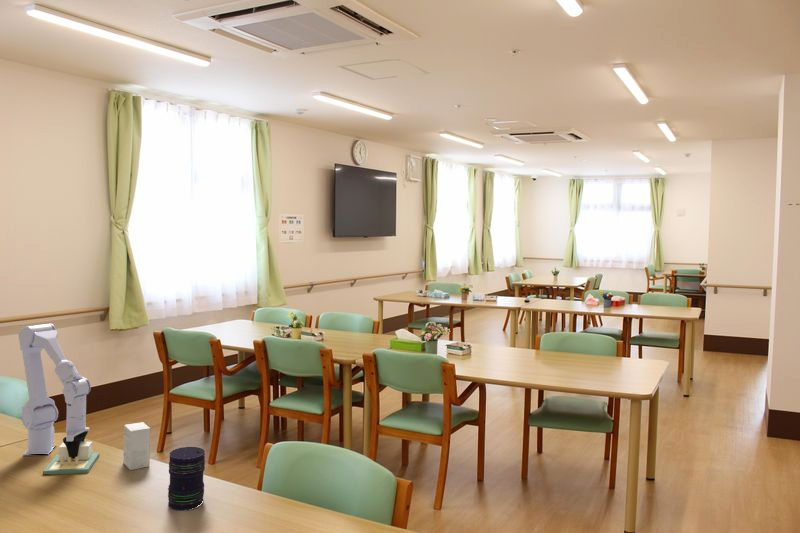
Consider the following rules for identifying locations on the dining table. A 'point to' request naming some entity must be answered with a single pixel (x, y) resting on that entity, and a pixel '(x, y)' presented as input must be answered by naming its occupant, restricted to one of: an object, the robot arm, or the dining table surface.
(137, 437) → the small box
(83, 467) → the board
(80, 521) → the dining table surface
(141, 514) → the dining table surface
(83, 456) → the block
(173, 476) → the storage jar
